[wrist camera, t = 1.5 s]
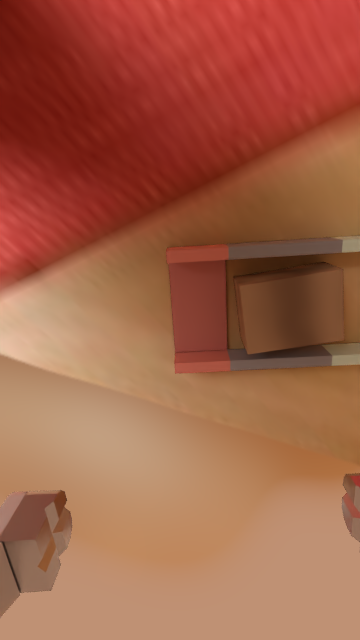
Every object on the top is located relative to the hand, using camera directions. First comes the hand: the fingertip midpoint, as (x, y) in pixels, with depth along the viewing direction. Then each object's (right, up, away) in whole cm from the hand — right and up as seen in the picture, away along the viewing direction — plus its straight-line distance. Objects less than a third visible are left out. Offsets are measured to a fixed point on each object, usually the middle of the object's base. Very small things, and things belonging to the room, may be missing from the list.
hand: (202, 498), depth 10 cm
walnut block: (+9, +7, +21) cm, 24 cm away
